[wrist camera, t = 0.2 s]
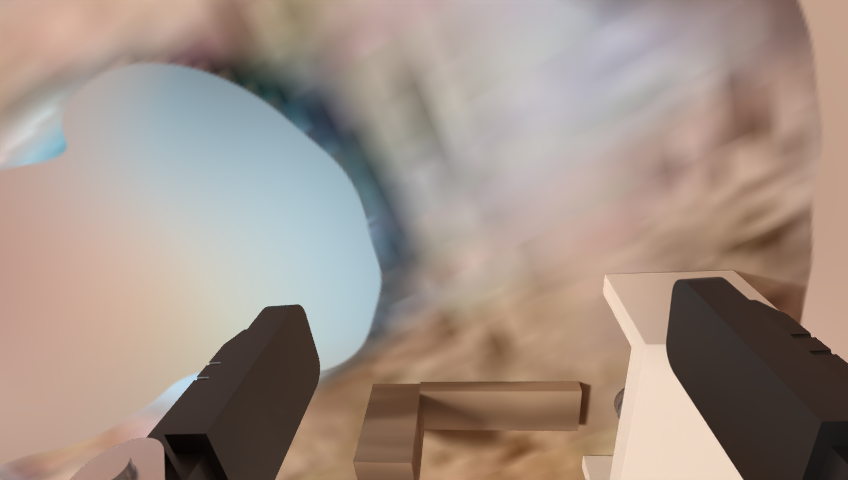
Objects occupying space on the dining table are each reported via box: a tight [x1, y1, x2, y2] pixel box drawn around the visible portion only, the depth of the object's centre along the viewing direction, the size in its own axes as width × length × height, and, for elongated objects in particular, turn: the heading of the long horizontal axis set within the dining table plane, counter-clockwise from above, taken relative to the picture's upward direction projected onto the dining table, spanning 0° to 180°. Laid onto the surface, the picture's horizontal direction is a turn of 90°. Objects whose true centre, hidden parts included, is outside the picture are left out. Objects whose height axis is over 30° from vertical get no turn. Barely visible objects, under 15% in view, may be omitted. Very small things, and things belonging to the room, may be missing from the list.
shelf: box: [582, 270, 778, 480], centre depth 29 cm, size 20×8×7 cm, turn 5°
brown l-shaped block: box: [353, 382, 582, 480], centre depth 31 cm, size 4×16×7 cm, turn 95°
